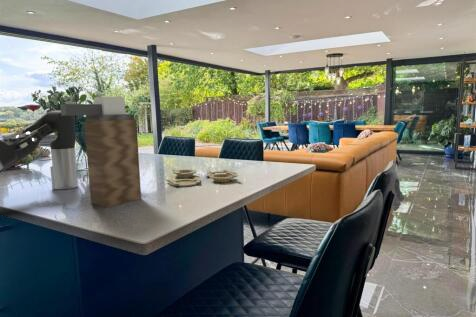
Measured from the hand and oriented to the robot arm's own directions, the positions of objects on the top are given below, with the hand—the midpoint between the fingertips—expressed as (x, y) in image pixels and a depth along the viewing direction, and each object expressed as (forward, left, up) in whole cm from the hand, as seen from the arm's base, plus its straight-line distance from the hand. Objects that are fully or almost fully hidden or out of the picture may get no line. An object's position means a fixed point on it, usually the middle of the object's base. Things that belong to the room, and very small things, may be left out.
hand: (43, 126), depth 100 cm
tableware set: (+33, +60, -29) cm, 74 cm away
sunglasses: (-27, +65, -29) cm, 76 cm away
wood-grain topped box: (+11, +19, -28) cm, 36 cm away
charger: (+8, +14, +3) cm, 16 cm away
